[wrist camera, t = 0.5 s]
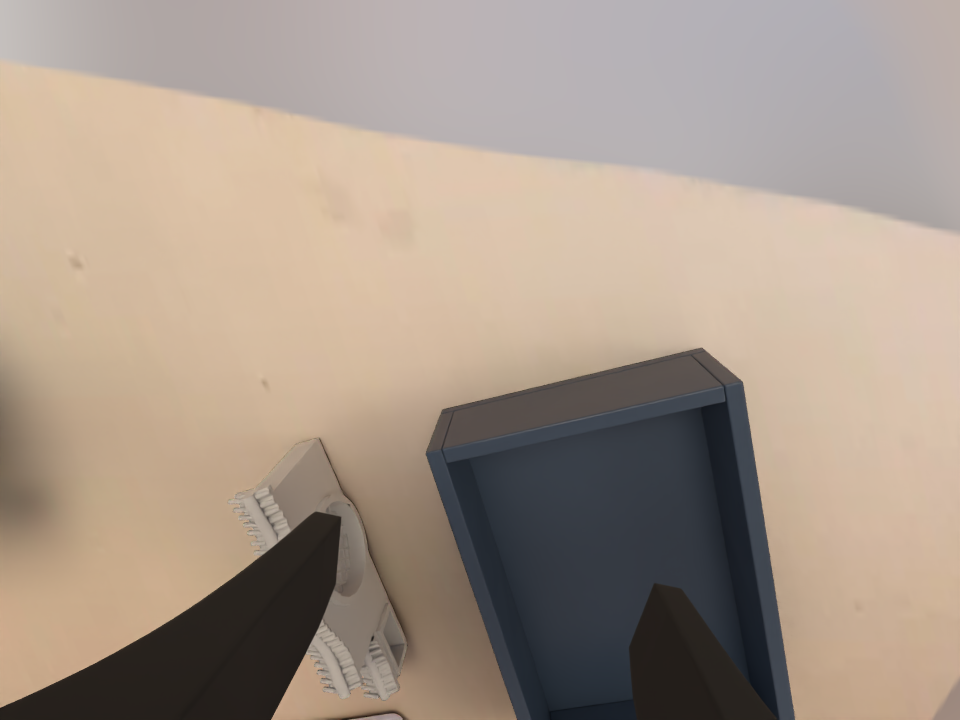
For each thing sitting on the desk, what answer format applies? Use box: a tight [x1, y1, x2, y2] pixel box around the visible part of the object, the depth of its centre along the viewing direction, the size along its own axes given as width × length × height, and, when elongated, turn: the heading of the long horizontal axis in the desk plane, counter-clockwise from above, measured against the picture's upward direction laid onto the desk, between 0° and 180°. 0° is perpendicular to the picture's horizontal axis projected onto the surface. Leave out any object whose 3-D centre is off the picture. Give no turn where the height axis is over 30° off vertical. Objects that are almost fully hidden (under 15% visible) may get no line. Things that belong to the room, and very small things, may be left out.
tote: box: [426, 348, 795, 720], centre depth 22 cm, size 11×17×4 cm, turn 16°
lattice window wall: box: [228, 438, 408, 701], centre depth 22 cm, size 12×2×6 cm, turn 18°
